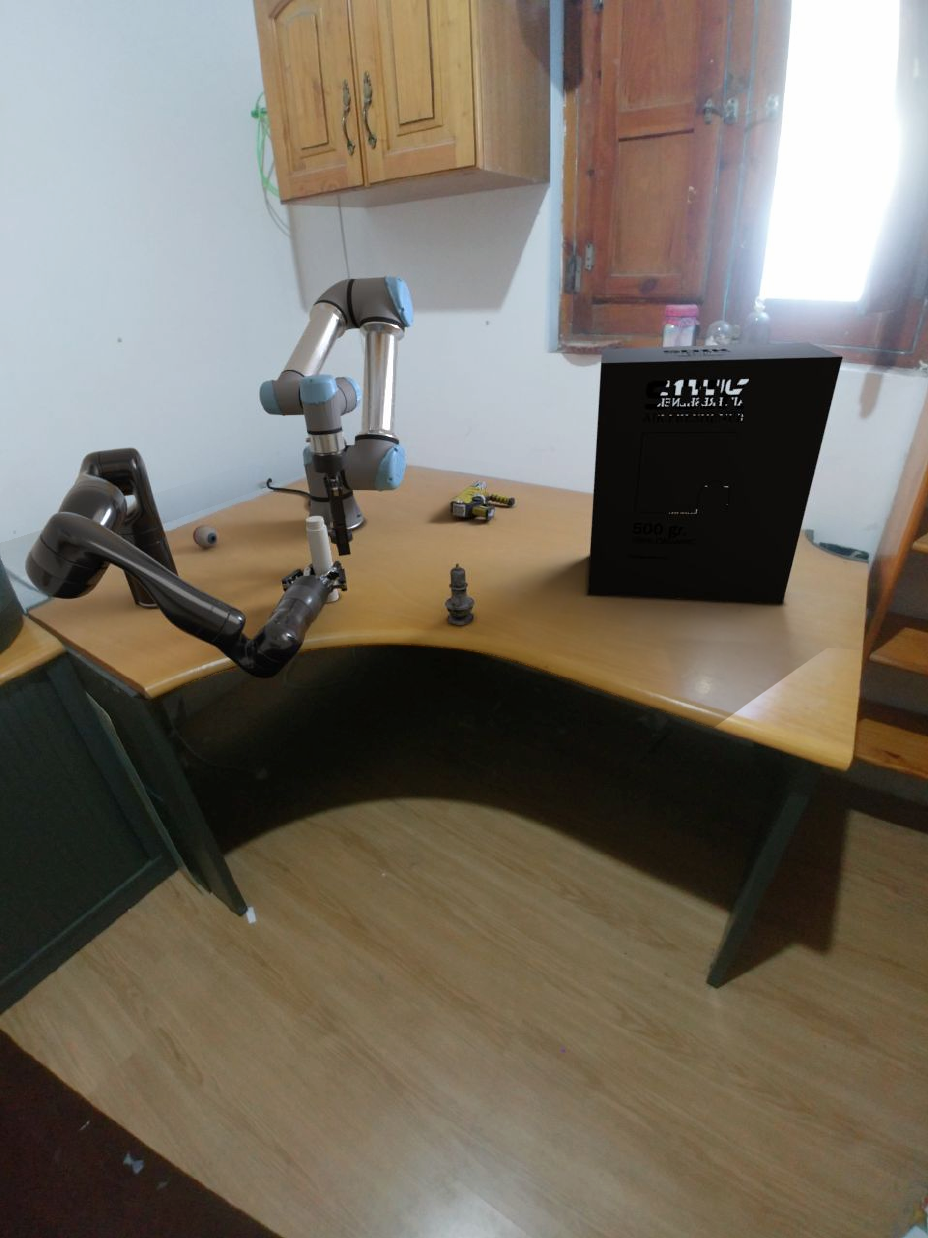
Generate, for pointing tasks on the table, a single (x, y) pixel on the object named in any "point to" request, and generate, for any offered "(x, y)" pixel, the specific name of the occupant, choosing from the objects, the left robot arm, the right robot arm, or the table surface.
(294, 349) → the right robot arm
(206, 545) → the eyeball
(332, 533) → the lid
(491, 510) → the toy gun
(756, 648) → the table surface
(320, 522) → the white cylinder
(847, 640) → the table surface
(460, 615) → the dark grey chess piece
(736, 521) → the cardboard box
